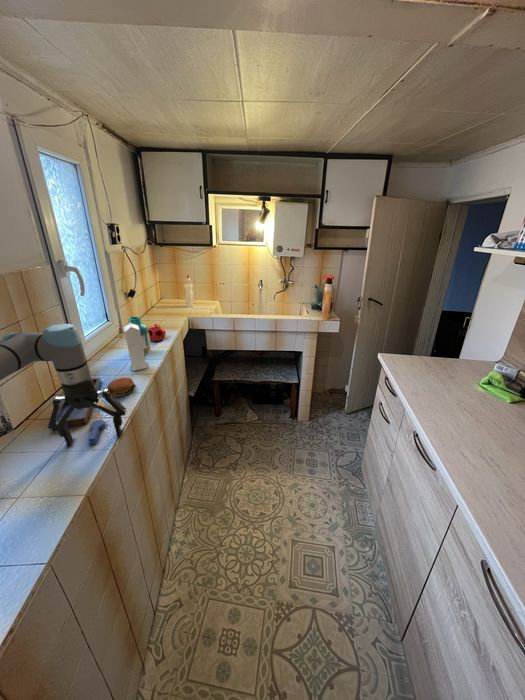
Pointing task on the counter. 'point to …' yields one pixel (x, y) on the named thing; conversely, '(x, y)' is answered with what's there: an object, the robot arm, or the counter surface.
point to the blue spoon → (96, 430)
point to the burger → (121, 387)
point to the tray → (77, 411)
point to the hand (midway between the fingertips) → (95, 438)
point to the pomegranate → (156, 333)
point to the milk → (135, 347)
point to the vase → (142, 332)
